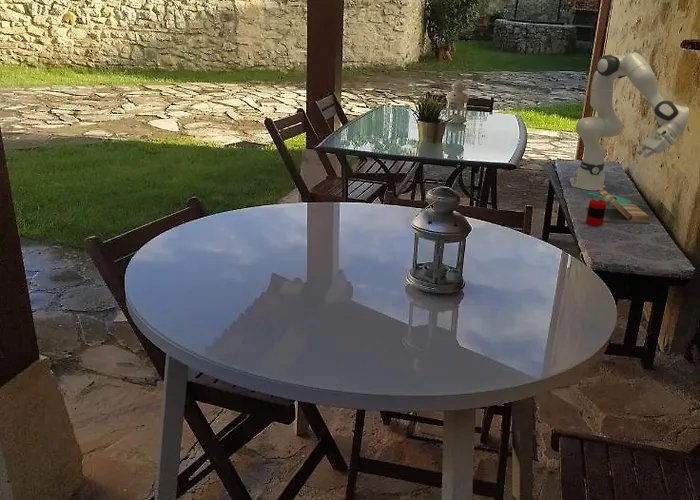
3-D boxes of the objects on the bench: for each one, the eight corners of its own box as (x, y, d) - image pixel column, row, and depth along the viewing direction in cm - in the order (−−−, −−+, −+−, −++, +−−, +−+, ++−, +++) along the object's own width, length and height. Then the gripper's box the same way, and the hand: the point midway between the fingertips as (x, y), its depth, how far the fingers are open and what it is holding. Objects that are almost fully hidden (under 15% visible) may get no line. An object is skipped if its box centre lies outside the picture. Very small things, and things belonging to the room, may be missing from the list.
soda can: (591, 226, 316) (596, 202, 311) (582, 221, 322) (586, 197, 318) (605, 226, 318) (610, 201, 313) (596, 220, 324) (600, 196, 320)
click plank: (598, 191, 336) (602, 188, 335) (614, 207, 339) (618, 204, 339) (611, 203, 319) (615, 199, 319) (628, 219, 323) (632, 216, 322)
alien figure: (592, 207, 344) (633, 211, 340) (592, 203, 343) (634, 207, 340) (587, 196, 362) (626, 200, 359) (588, 192, 361) (627, 196, 358)
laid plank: (617, 208, 339) (618, 203, 339) (633, 209, 340) (634, 204, 339) (631, 220, 323) (632, 215, 322) (648, 221, 323) (649, 216, 322)
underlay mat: (586, 208, 341) (586, 206, 340) (633, 210, 341) (633, 208, 341) (599, 222, 322) (600, 220, 322) (649, 223, 322) (650, 222, 322)
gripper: (653, 128, 335) (630, 147, 339) (668, 133, 316) (643, 154, 319) (661, 137, 336) (638, 156, 340) (676, 143, 317) (652, 163, 320)
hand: (641, 155), depth 329 cm, fingers open, 8 cm apart
